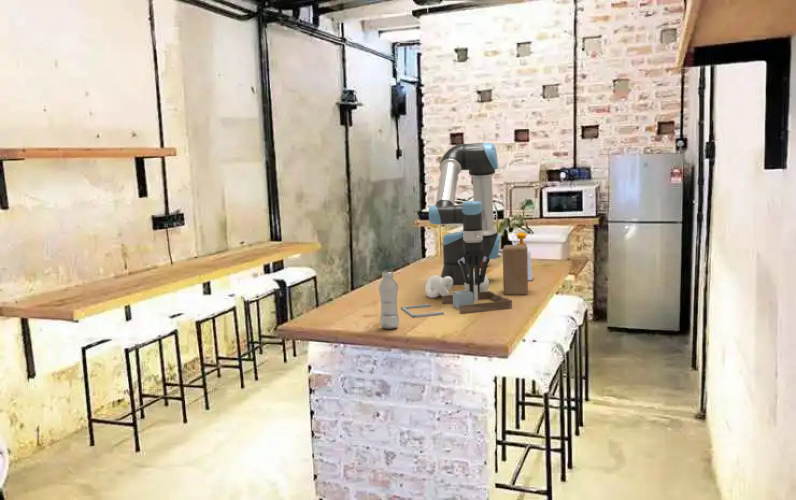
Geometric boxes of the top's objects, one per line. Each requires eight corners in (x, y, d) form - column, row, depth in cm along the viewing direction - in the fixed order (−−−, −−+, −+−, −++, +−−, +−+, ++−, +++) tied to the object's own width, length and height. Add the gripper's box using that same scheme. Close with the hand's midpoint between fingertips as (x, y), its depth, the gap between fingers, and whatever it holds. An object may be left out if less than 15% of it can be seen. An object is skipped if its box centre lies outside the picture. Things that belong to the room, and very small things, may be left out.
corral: (401, 308, 256) (400, 306, 256) (429, 305, 260) (429, 303, 260) (413, 317, 241) (413, 315, 241) (443, 314, 244) (443, 312, 244)
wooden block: (527, 295, 272) (527, 247, 269) (503, 295, 274) (502, 248, 271) (528, 290, 281) (527, 244, 279) (504, 290, 283) (503, 244, 281)
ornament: (491, 293, 278) (490, 265, 276) (486, 298, 268) (485, 270, 267) (467, 293, 281) (467, 265, 280) (462, 298, 272) (461, 269, 270)
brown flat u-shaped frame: (442, 303, 263) (442, 296, 263) (490, 298, 269) (490, 291, 268) (460, 313, 244) (460, 306, 244) (512, 308, 250) (511, 300, 249)
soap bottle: (531, 275, 315) (531, 230, 312) (532, 281, 301) (532, 233, 298) (511, 276, 316) (510, 230, 313) (511, 281, 303) (510, 233, 300)
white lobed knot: (456, 299, 269) (455, 278, 268) (427, 301, 269) (426, 279, 267) (452, 294, 280) (451, 273, 279) (424, 295, 280) (423, 275, 278)
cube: (453, 306, 257) (452, 291, 256) (467, 304, 259) (466, 290, 258) (458, 309, 251) (458, 294, 250) (473, 307, 253) (472, 292, 252)
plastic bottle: (379, 326, 230) (377, 270, 228) (398, 325, 231) (396, 269, 228) (380, 331, 224) (378, 273, 221) (400, 330, 225) (398, 272, 222)
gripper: (461, 243, 247) (463, 304, 251) (492, 241, 251) (494, 301, 254) (453, 241, 255) (455, 300, 258) (484, 239, 258) (486, 297, 261)
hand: (474, 300), depth 256 cm, fingers closed
